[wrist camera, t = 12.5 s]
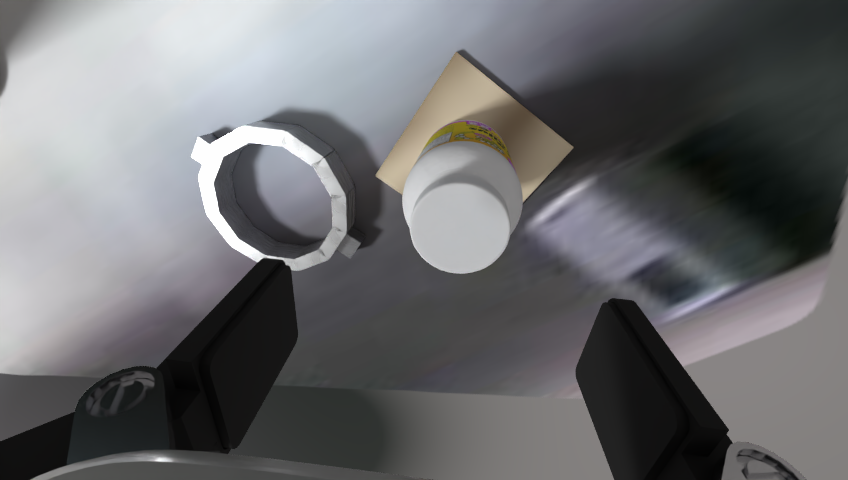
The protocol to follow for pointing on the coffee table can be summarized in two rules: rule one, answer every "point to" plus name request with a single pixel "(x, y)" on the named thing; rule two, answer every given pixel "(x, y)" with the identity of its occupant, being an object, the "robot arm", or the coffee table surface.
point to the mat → (484, 102)
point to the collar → (235, 223)
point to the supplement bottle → (462, 198)
